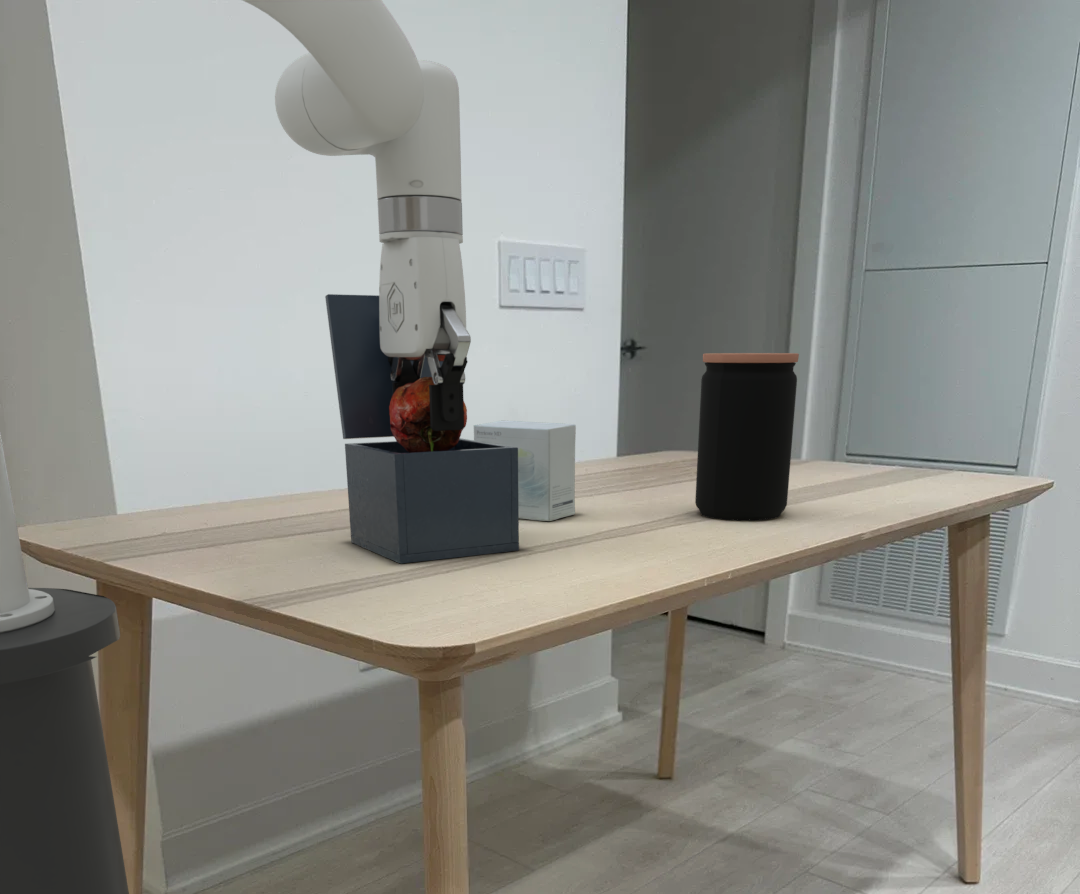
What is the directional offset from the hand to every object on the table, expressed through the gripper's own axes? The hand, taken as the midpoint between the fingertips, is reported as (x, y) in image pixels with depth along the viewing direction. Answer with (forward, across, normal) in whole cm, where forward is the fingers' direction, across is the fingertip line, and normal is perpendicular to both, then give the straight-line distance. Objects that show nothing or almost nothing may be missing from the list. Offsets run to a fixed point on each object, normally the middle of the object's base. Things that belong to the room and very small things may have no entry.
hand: (428, 426), depth 97 cm
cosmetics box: (+12, -13, +18) cm, 25 cm away
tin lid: (-5, -7, 0) cm, 9 cm away
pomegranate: (+3, 0, 0) cm, 3 cm away
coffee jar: (+12, 0, +40) cm, 42 cm away
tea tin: (+12, 0, 0) cm, 12 cm away
